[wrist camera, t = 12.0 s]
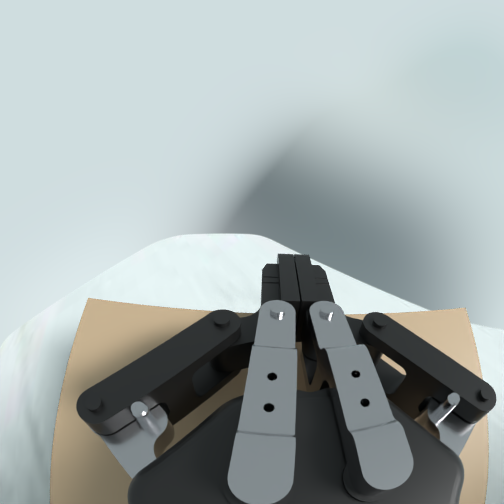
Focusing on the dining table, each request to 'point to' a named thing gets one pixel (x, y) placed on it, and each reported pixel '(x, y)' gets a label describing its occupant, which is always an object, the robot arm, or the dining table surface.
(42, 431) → the dining table surface
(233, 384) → the lid
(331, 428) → the robot arm
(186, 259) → the dining table surface
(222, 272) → the dining table surface
